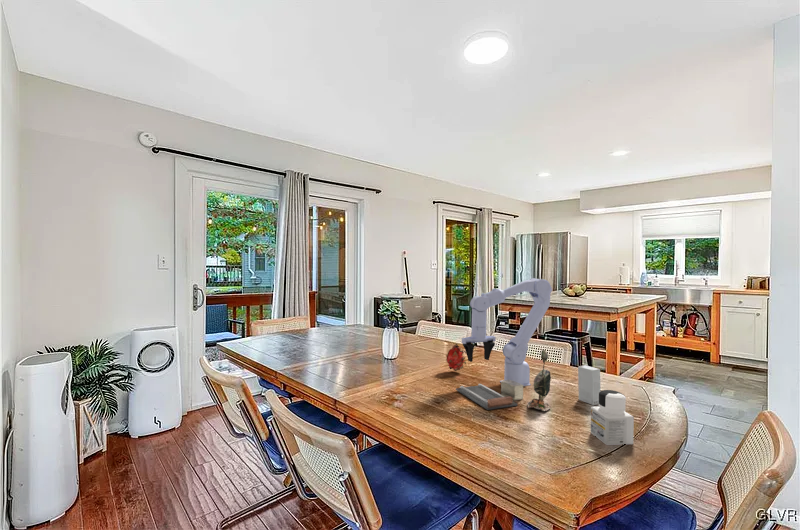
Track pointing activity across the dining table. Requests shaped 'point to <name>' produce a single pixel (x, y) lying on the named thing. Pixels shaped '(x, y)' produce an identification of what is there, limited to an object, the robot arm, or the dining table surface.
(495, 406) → the rail guide
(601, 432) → the container
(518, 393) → the block
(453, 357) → the dragon fruit
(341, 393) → the dining table surface
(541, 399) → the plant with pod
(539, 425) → the dining table surface
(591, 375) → the skincare box
